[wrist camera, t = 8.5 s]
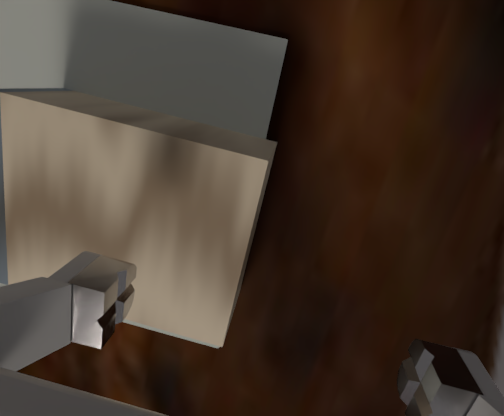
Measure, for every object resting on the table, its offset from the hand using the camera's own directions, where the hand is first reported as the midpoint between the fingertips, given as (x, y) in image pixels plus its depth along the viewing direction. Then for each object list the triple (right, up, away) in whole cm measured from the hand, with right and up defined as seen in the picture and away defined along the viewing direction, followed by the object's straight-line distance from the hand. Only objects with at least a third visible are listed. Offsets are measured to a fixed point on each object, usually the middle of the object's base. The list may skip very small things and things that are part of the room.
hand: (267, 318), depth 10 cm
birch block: (-1, +2, +5) cm, 5 cm away
